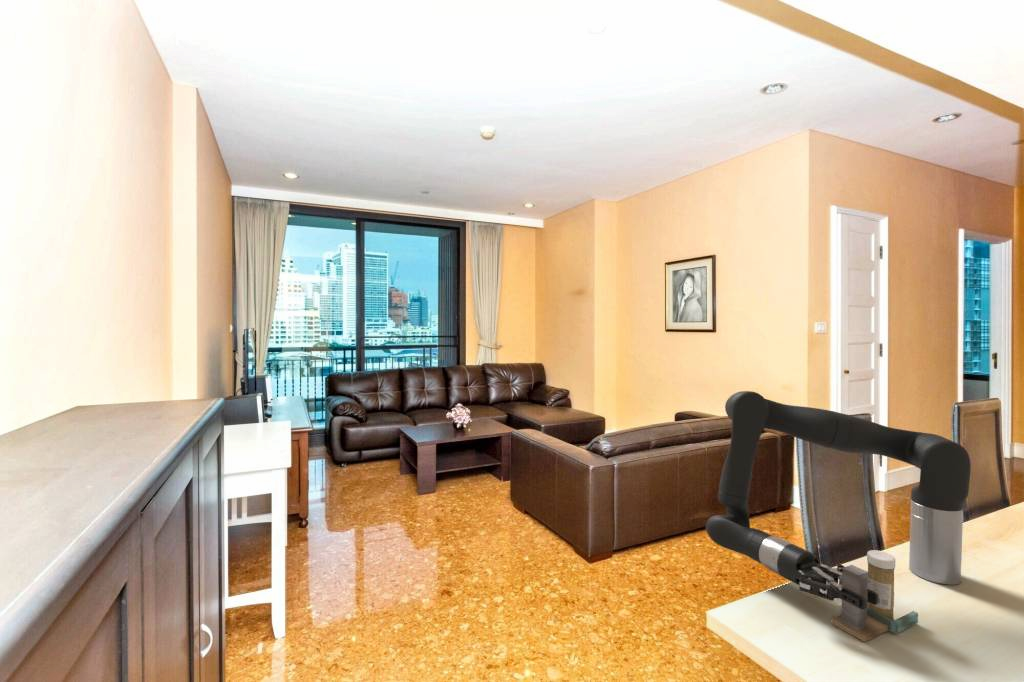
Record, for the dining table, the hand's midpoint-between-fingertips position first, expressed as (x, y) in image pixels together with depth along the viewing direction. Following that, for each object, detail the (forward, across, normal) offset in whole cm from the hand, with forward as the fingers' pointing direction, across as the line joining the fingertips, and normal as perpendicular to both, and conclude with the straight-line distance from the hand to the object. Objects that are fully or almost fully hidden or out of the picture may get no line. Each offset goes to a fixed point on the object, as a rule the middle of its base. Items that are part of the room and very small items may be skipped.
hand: (870, 601), depth 90 cm
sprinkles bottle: (-3, +9, +8) cm, 12 cm away
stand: (-3, +6, +7) cm, 10 cm away
